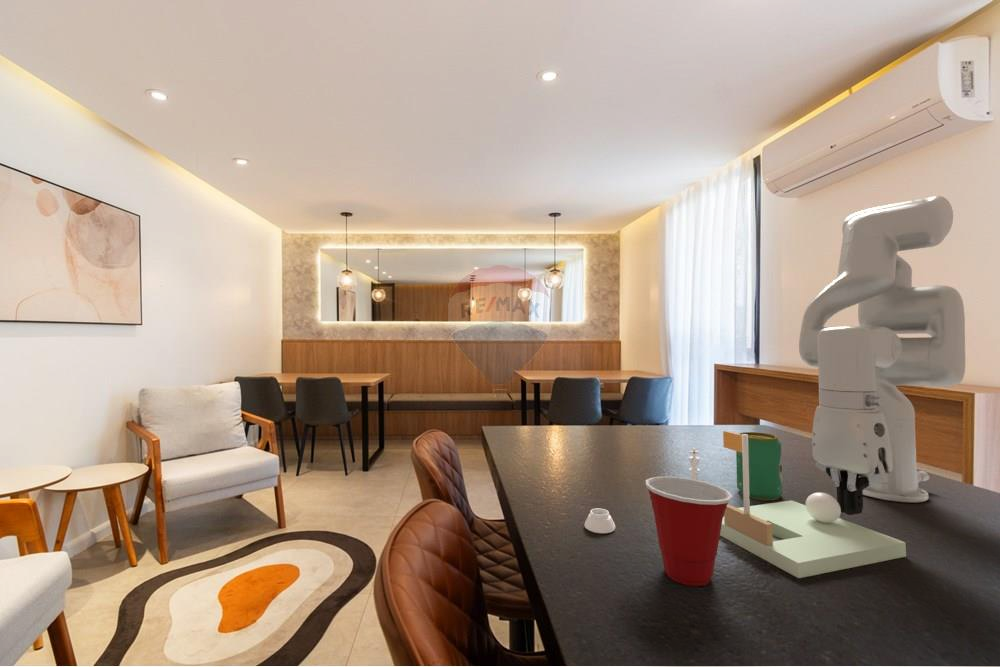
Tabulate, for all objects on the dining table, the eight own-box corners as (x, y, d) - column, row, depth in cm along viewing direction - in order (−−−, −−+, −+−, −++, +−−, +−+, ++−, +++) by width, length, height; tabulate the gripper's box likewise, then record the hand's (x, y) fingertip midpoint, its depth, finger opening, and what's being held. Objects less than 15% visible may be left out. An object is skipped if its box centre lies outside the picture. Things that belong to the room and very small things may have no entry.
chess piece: (711, 503, 85) (710, 451, 85) (684, 502, 86) (683, 450, 86) (705, 495, 90) (703, 445, 90) (679, 493, 91) (678, 444, 91)
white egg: (820, 514, 74) (819, 487, 74) (848, 525, 69) (847, 496, 70) (799, 518, 73) (798, 490, 73) (826, 529, 68) (825, 499, 68)
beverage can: (787, 503, 85) (786, 440, 85) (741, 498, 87) (739, 438, 88) (776, 490, 92) (775, 432, 93) (734, 486, 95) (732, 430, 95)
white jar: (587, 521, 78) (582, 533, 73) (587, 504, 78) (582, 515, 73) (616, 525, 76) (613, 537, 71) (616, 508, 76) (612, 519, 71)
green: (791, 511, 81) (789, 418, 81) (906, 556, 63) (902, 437, 64) (700, 524, 75) (698, 424, 76) (798, 578, 58) (795, 448, 58)
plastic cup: (755, 589, 56) (752, 493, 56) (683, 604, 52) (680, 502, 53) (694, 551, 66) (692, 470, 66) (631, 562, 63) (629, 477, 63)
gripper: (915, 405, 67) (920, 527, 67) (820, 395, 81) (822, 495, 81) (880, 408, 65) (884, 534, 64) (788, 396, 79) (791, 499, 79)
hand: (850, 512), depth 73 cm, fingers closed
